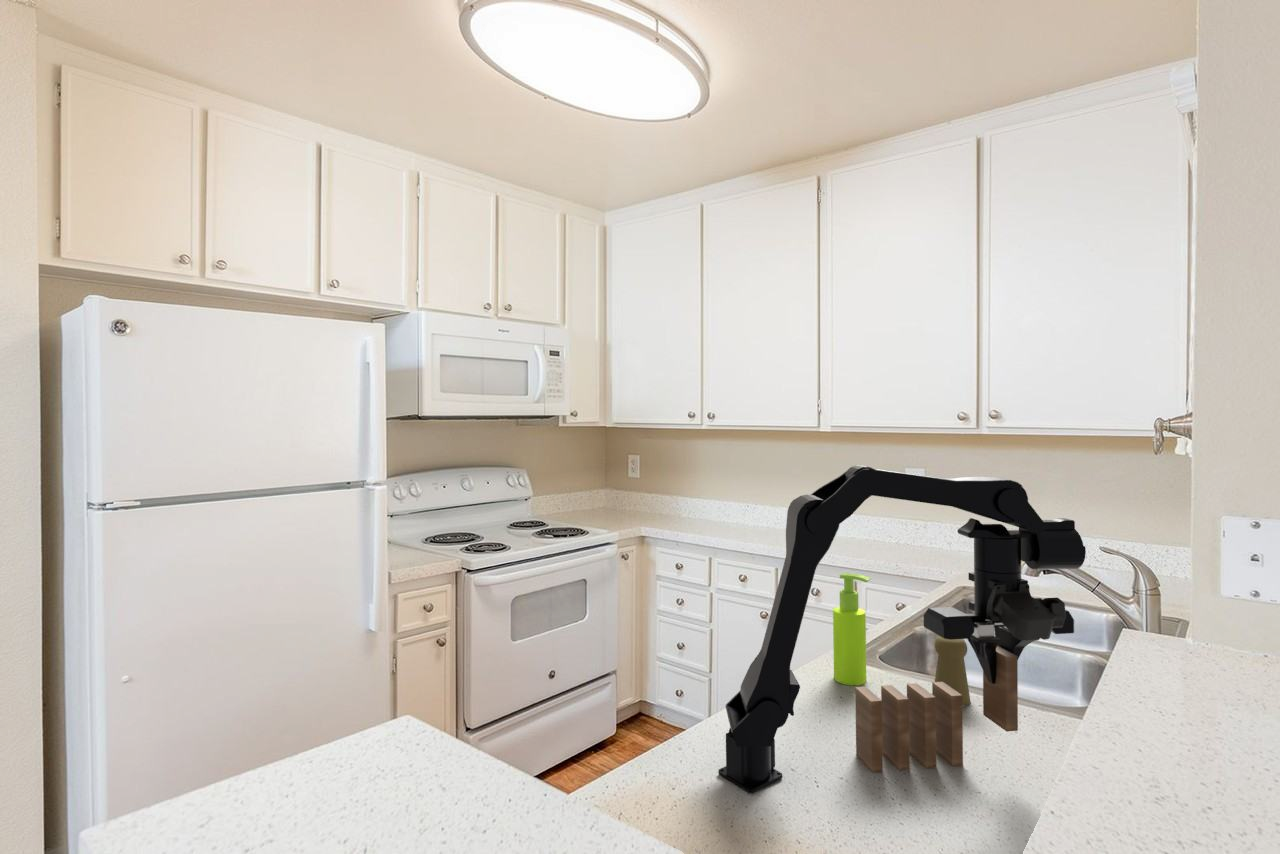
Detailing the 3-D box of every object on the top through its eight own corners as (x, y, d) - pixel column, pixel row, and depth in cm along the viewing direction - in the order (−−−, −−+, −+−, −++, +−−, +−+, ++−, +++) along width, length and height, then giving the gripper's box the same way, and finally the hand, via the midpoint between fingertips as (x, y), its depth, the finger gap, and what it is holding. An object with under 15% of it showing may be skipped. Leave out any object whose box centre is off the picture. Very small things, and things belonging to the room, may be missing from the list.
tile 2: (899, 770, 94) (898, 699, 94) (882, 752, 99) (881, 685, 99) (909, 769, 94) (908, 698, 94) (892, 752, 99) (891, 684, 99)
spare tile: (1006, 731, 89) (1006, 656, 89) (983, 714, 94) (982, 644, 94) (1017, 730, 89) (1017, 656, 89) (993, 714, 94) (993, 643, 94)
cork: (975, 707, 113) (974, 643, 113) (937, 705, 115) (936, 641, 115) (965, 693, 119) (964, 632, 119) (929, 691, 121) (928, 630, 120)
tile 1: (871, 772, 93) (871, 701, 93) (856, 754, 98) (855, 687, 98) (882, 771, 94) (881, 700, 93) (866, 754, 98) (865, 686, 98)
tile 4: (952, 766, 95) (951, 695, 95) (932, 748, 100) (932, 682, 100) (962, 765, 95) (962, 695, 95) (943, 748, 100) (942, 681, 100)
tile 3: (925, 768, 94) (924, 697, 94) (907, 750, 99) (906, 683, 99) (936, 767, 94) (935, 697, 94) (917, 750, 99) (916, 683, 99)
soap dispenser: (865, 689, 122) (864, 580, 122) (829, 680, 126) (827, 575, 126) (876, 679, 127) (874, 573, 126) (840, 671, 131) (839, 569, 130)
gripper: (968, 586, 83) (969, 712, 83) (1106, 580, 85) (1107, 703, 85) (921, 566, 94) (921, 677, 94) (1044, 562, 96) (1045, 670, 96)
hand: (998, 682), depth 92 cm, fingers closed on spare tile, 2 cm apart
